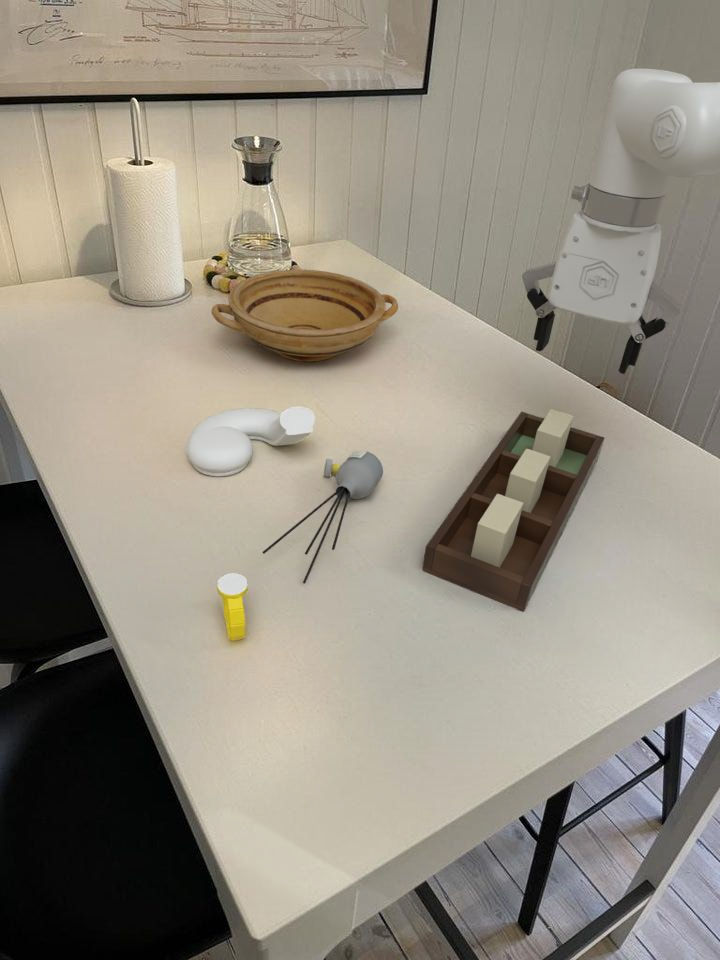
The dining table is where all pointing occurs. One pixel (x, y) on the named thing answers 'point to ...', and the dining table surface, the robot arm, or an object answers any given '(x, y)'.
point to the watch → (233, 603)
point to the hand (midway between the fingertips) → (582, 357)
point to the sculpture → (243, 436)
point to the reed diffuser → (345, 490)
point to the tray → (534, 529)
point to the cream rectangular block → (553, 435)
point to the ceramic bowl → (305, 312)
